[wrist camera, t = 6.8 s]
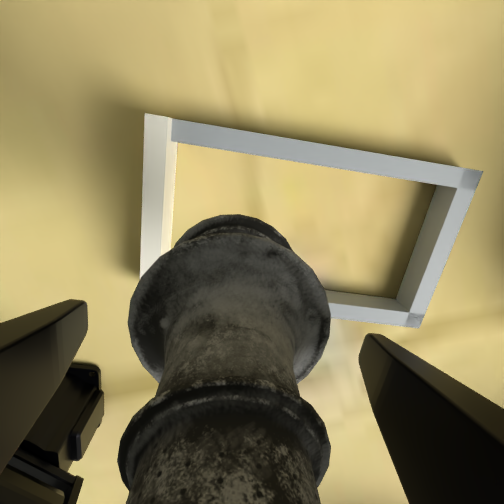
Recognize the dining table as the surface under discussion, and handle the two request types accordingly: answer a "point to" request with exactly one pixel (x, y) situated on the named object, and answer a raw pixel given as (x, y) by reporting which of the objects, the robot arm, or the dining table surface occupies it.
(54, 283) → the dining table surface
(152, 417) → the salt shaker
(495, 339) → the dining table surface
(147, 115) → the frame
